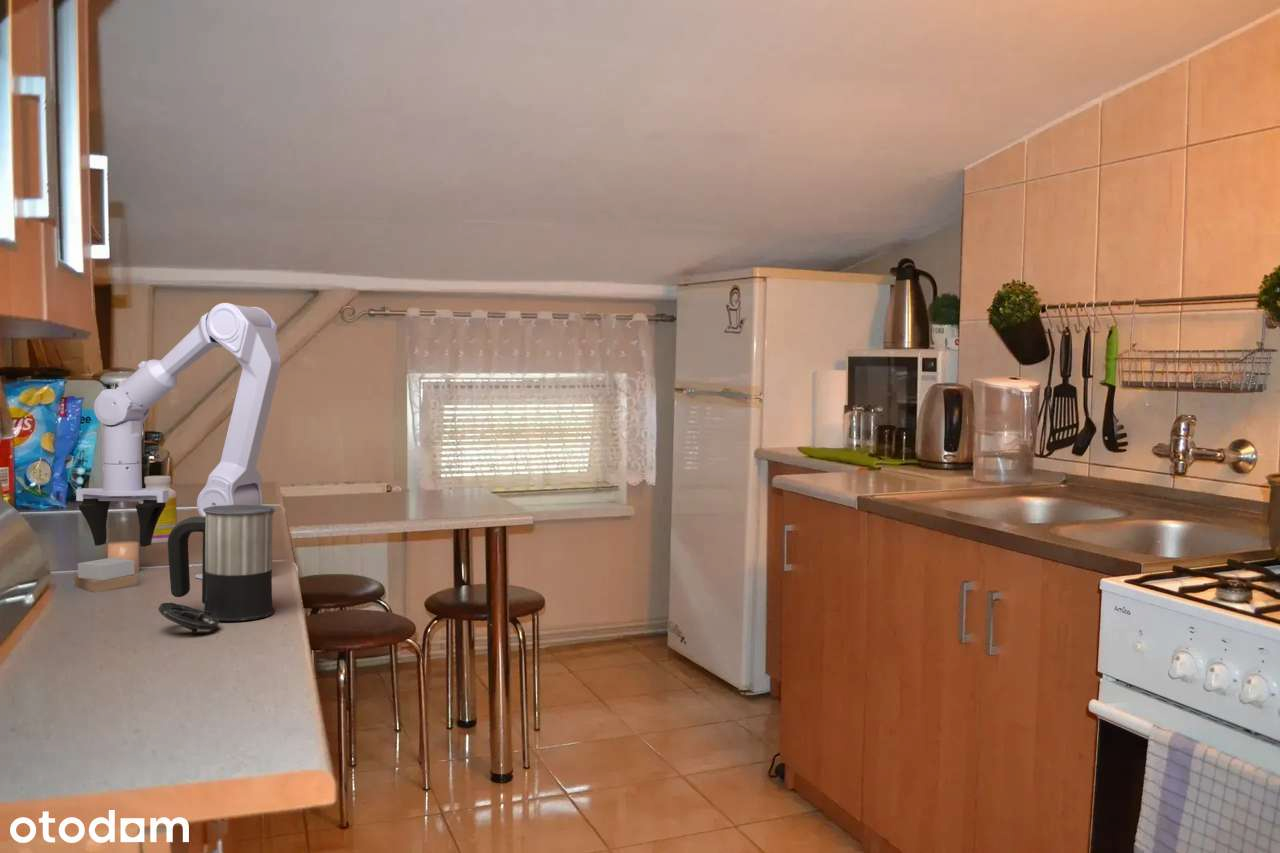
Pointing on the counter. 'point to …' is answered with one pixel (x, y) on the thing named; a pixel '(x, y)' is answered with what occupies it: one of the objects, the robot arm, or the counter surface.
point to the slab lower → (106, 583)
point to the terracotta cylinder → (125, 552)
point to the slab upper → (105, 569)
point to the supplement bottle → (169, 513)
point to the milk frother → (224, 566)
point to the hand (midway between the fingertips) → (123, 545)
